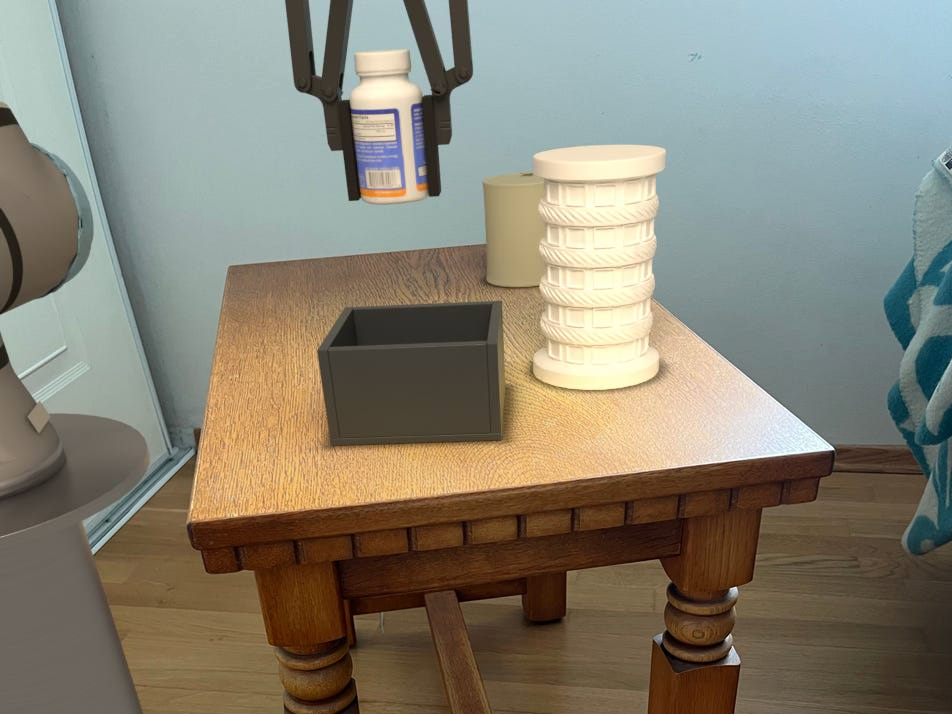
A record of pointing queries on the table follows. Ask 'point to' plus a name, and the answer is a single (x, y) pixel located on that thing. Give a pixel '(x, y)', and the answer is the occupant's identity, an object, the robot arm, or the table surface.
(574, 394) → the table surface
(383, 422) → the bin
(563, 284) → the decorative container
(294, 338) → the table surface
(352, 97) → the pill bottle
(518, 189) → the can
